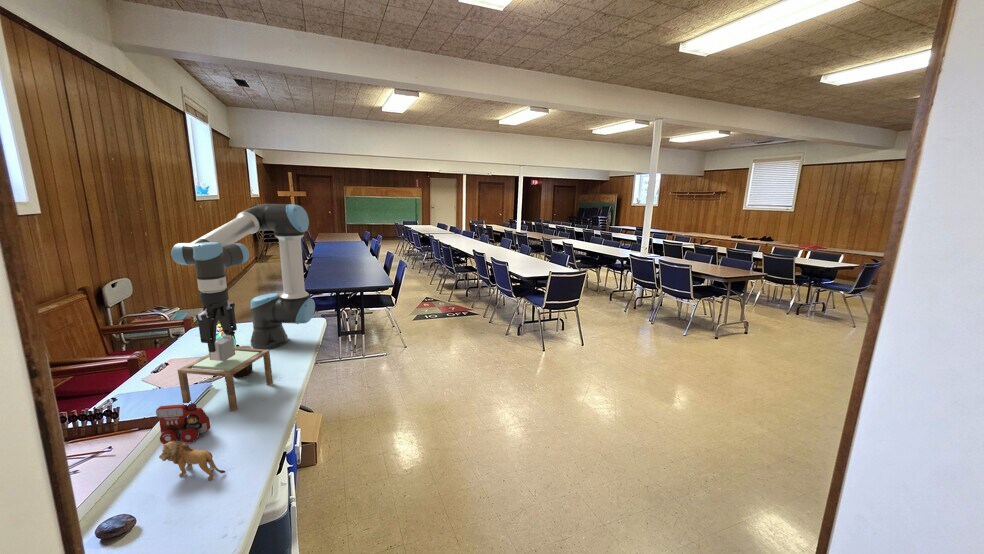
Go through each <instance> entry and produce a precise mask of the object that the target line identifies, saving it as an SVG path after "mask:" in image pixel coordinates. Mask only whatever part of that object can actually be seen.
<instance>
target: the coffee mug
mask: <svg viewBox="0 0 984 554" xmlns="http://www.w3.org/2000/svg"><path fill="white" fill-rule="evenodd" d="M236 347H237V348H250V349H254V348H253V347H251V345H241V346H240V345H239V346H236ZM251 374H253V363H252V364H250V365H248V366H247V367H245V368H243V369H242V370H240V371H238V372H237V373H235V374H233V378H234V379H235V378H236V379H238V378H239V379H240V378H246V377H248V376H251Z"/></svg>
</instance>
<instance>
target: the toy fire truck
mask: <svg viewBox="0 0 984 554" xmlns="http://www.w3.org/2000/svg"><path fill="white" fill-rule="evenodd" d="M155 414H156V417H157V418H158V422H159V427H160V435H159V441H160V443H161V444H162V445H165V444H166V443H168V442H170V441H178V439H179V438H180V441H181V442H183V443H186V444H192V443H194V442H195V441H196V440H197V439H198V438H199V433H207V432H208V431H209V430H211V420H210V417H209V416H208V415H207V414H206V413H205V411H204V410H203V409H202V408H201V407H198V406H197V404H196V403H194V402H191V404H189V405H188V406H187V405H184V404H183V403H182V404H172V405H171V404H170V405H161V406H159V407H157V408H156V410H155ZM179 435H180V437H179Z"/></svg>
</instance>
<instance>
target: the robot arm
mask: <svg viewBox="0 0 984 554" xmlns="http://www.w3.org/2000/svg"><path fill="white" fill-rule="evenodd" d="M309 226H310V220H309V216H308V212H307V211H306V210H305V208H304V207H302V206H301V205H298V204H293V203H291V204H290V203H289V204H286V203H262V204H258V205H255V206H252V207H250V208H246V209H245V210H243V211H241V212H239V213H238V214H237V215H236V216H235V218H233V219H232V220H230V221H228V222H227V223H224V224H223V225H221V226H219V227H217V228H215V229H213V230H212V231H210V232H208V233H206V234H204V235H202V236H201V237H198V238H197V239H195V240H193V241H191V242H178V243H176V244H174V246H173V247H172V249H171V251H170V254H171V255H170V256H171V259H172V261H174V262H175V263H176V264H177V265H184V266H187V267H188V266H195V271H196V282H197V287H198V291H200V292H199V301H200V304H202V305H203V308H202V311H201V313H196V314H195V319H197V323H198V331H199V337H200V343H202V344H207V348H208V353H209V352H210V355H211V360H216V361H219V360H221V359H220V352H219V345H218V341H216V339H217V327H218V322H219V324H220V326H221V328H222V331H223V334H222V337H221V338H233V337H234V336H233V335H236V331H237V329H238V328H237V321H236V320H237V319H236V314H235V313H236V312H235V307H236V306H235V305H236V304H235V303H234V302H228V301H229V300H230V299H229V291H228V289H227V288H228V285H227V279H226V278H227V277H226V276H227V275H226V269H229V268H232V267H236V266H240V265H243V264H245V263H246V262H247V261H249V258H250V251H249V249H248V247H247V246H246V245H244V244H243V243H236V242H238V241H240V240H242V239H243V238H245V237H246V236H248V235H251V234H252V235H253V234H255V233H257V232H261V231H262V232H263V231H272V232H273V233H274V237H275V238H277V239H278V244H279V256H280V267H281V276H282V287H283V288H282V289H283V292H282V294H279V293H276V292H274V293H266V294H261V295H257V296H256V297H253V298H252V299H251V300H250V311H251V319H252V321H251V322H252V328H253V330H252V334H251V339H250V346H251V347H253V349H263V350H270V349H274V348H279V347H281V346H283V345H285V344H287V343H288V341H289V338H288V335H287V332H286V331H285V329H284V326H283V324H295V325H300V324H301V325H302V324H307V323H309V322H310V321H311V320H312V319H313V316H314V313H315V311H316V303H315V300H314V299H313V298H311V297H310V294H309V292H307V291H306V290H305V289H306V287H305V276H304V264H303V252H302V238H303V237H304V236H305V233H306V232H307V231H308V230H309ZM233 339H234V338H233Z"/></svg>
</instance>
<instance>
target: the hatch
mask: <svg viewBox="0 0 984 554" xmlns="http://www.w3.org/2000/svg"><path fill="white" fill-rule="evenodd" d="M259 353H260V352H248V351H235V355H234V356H232V357H230V358H229V359H227V360H225V361H216V360H210V357H208V358H206V359H204V360H202V361H200V362H198V363H196V364H194V365H193V368H192V369H204V370H216V371H230V370H232V369H234V368H235V367H237V366H239V365H240V364H242V363H244V362H245V361H247V360H249V359H251V358H252V357H254V356H256V355H257V354H259Z"/></svg>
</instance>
